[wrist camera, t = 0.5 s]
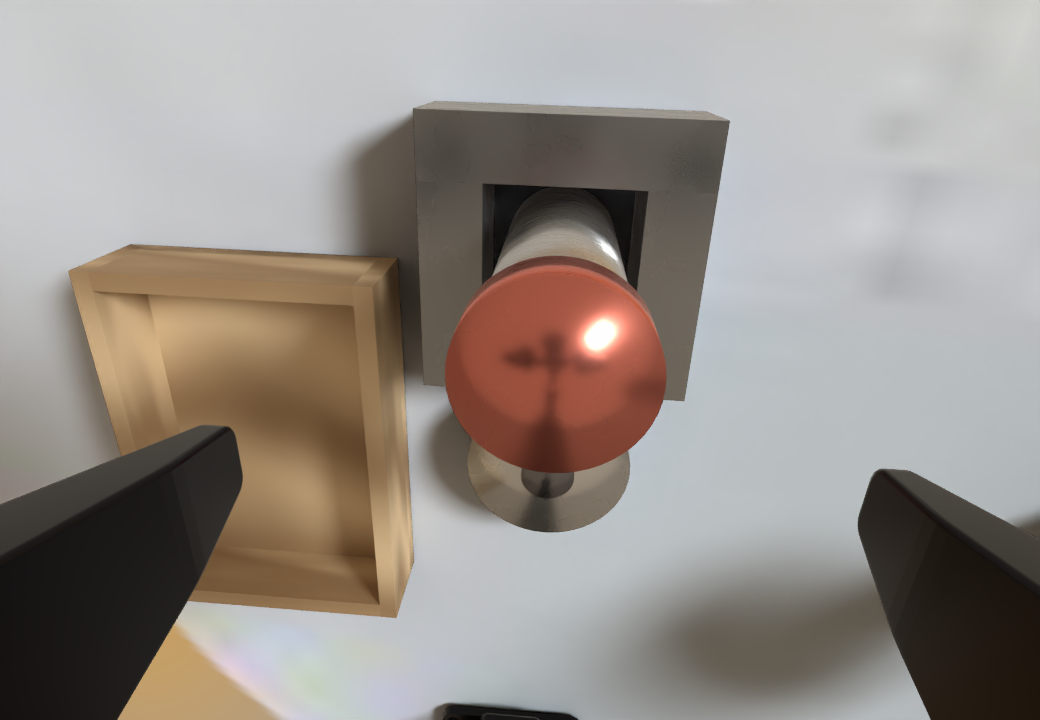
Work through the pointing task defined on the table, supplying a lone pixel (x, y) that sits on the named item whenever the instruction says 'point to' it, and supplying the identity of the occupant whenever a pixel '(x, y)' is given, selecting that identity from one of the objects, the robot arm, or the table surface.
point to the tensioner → (579, 164)
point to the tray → (270, 409)
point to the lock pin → (557, 343)
